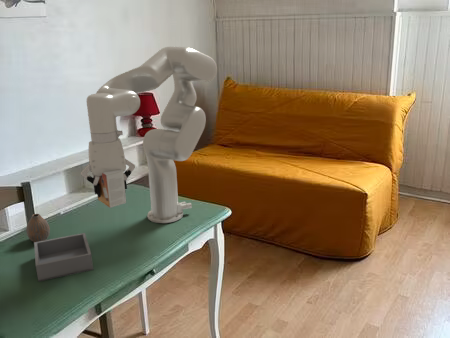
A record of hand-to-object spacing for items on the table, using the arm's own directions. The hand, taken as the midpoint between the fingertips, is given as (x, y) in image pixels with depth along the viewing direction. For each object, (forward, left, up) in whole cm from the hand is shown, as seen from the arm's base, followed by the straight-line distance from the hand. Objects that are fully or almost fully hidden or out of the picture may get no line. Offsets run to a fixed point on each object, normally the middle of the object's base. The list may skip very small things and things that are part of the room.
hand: (111, 193), depth 139 cm
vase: (+22, -14, -18) cm, 32 cm away
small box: (0, 0, -3) cm, 3 cm away
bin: (+16, +5, -17) cm, 24 cm away
